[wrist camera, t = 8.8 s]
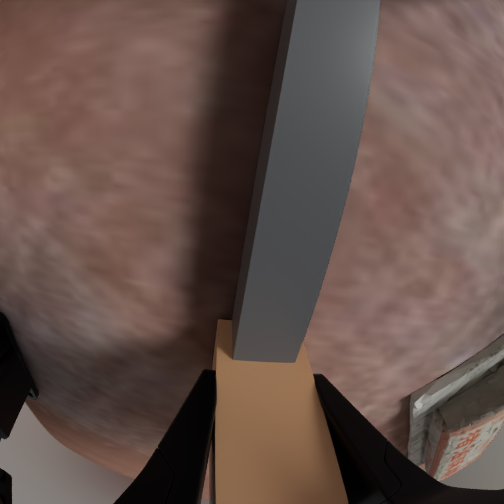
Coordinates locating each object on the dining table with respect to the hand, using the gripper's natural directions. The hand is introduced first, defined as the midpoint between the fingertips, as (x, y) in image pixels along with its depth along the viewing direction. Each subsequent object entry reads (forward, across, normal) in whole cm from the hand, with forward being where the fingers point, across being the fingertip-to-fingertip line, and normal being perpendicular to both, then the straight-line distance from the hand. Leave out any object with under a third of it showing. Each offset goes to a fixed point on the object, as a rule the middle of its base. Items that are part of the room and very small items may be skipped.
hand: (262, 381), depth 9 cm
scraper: (+2, 0, -6) cm, 7 cm away
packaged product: (+3, -19, +10) cm, 22 cm away
